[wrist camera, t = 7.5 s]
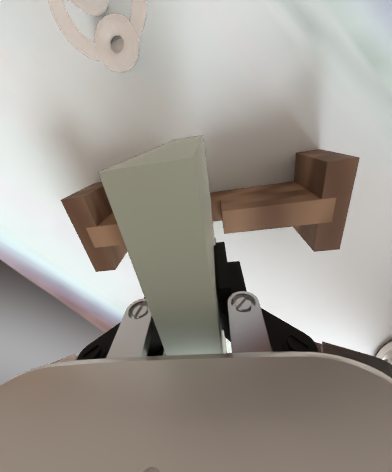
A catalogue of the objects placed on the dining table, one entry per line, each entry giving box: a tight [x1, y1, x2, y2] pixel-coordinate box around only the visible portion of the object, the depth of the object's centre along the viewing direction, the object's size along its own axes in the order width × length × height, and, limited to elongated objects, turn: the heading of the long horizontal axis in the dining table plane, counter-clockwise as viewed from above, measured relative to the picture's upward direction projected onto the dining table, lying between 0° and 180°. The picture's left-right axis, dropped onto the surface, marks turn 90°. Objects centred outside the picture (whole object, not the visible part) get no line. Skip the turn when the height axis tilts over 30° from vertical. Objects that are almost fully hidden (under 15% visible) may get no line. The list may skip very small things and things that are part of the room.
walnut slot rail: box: [61, 149, 359, 272], centre depth 21 cm, size 24×8×6 cm, turn 99°
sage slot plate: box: [98, 135, 227, 356], centre depth 13 cm, size 2×14×12 cm, turn 9°
